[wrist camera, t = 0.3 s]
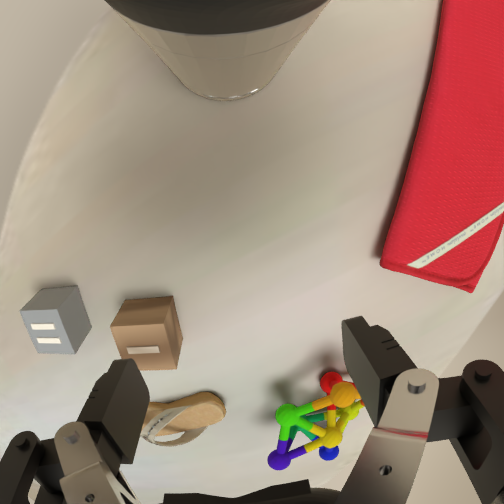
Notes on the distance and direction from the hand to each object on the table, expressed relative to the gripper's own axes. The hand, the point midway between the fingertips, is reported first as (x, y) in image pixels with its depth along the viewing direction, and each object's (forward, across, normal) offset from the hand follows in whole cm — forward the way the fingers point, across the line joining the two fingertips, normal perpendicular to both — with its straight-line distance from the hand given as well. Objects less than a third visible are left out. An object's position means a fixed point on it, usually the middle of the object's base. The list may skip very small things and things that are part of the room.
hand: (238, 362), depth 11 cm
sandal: (+19, +13, +20) cm, 31 cm away
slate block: (+18, +20, +4) cm, 27 cm away
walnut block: (+18, +10, +6) cm, 22 cm away
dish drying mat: (+18, -28, -10) cm, 35 cm away
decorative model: (+19, -6, +22) cm, 30 cm away
